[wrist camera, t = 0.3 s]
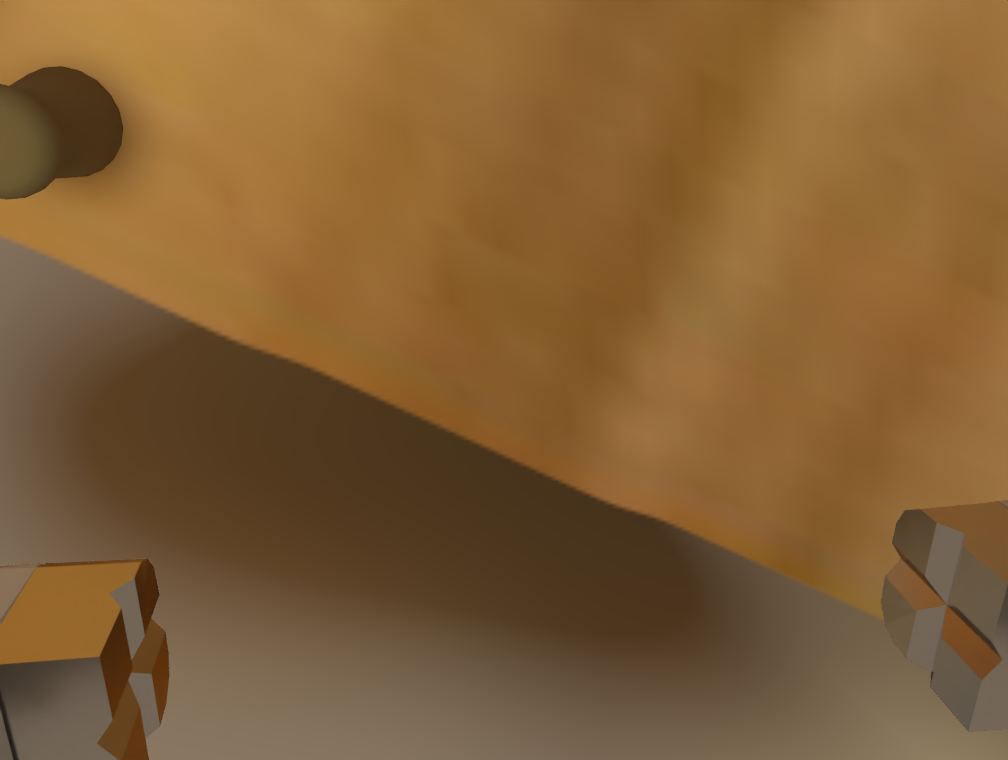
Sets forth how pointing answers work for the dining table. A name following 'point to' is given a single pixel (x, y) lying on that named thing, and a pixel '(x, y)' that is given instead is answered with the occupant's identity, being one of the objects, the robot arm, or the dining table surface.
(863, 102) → the dining table surface
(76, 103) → the cork
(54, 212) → the dining table surface
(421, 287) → the dining table surface
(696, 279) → the dining table surface
